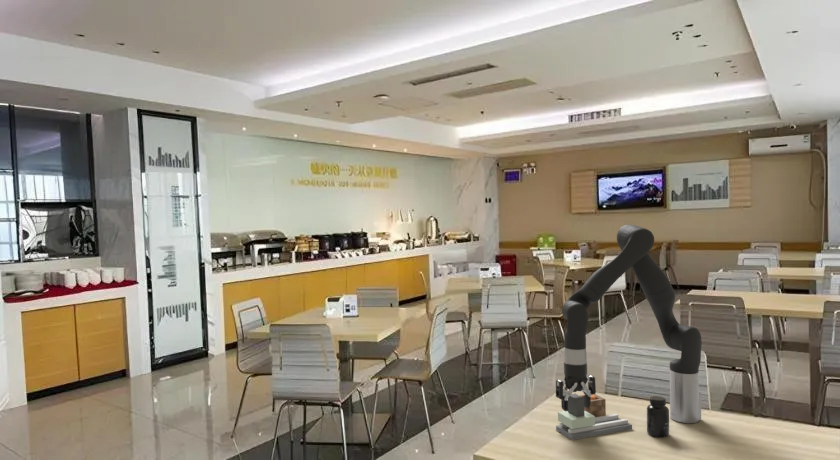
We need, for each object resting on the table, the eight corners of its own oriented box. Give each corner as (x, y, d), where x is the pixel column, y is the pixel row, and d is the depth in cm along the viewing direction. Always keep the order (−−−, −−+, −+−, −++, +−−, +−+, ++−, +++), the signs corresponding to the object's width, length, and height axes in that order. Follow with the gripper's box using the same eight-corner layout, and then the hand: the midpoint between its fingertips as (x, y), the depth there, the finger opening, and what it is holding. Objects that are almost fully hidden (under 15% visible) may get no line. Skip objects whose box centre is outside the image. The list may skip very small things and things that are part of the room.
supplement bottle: (671, 438, 178) (671, 402, 177) (649, 437, 179) (648, 401, 179) (666, 430, 184) (666, 395, 184) (645, 429, 186) (644, 394, 185)
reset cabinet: (593, 413, 201) (593, 393, 201) (605, 420, 195) (605, 399, 194) (573, 416, 198) (573, 396, 198) (585, 423, 192) (585, 402, 192)
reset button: (591, 404, 199) (591, 393, 199) (597, 408, 195) (597, 397, 195) (582, 406, 198) (582, 395, 198) (588, 409, 194) (588, 398, 194)
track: (614, 419, 195) (614, 412, 195) (632, 429, 186) (632, 421, 186) (556, 429, 187) (556, 422, 187) (571, 440, 178) (571, 431, 178)
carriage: (580, 416, 189) (580, 391, 189) (595, 425, 182) (594, 398, 182) (558, 420, 186) (557, 394, 186) (571, 429, 179) (571, 401, 179)
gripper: (586, 355, 189) (587, 402, 190) (550, 360, 185) (551, 408, 185) (600, 361, 182) (601, 409, 183) (563, 366, 178) (564, 415, 178)
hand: (576, 408), depth 184 cm, fingers open, 8 cm apart
